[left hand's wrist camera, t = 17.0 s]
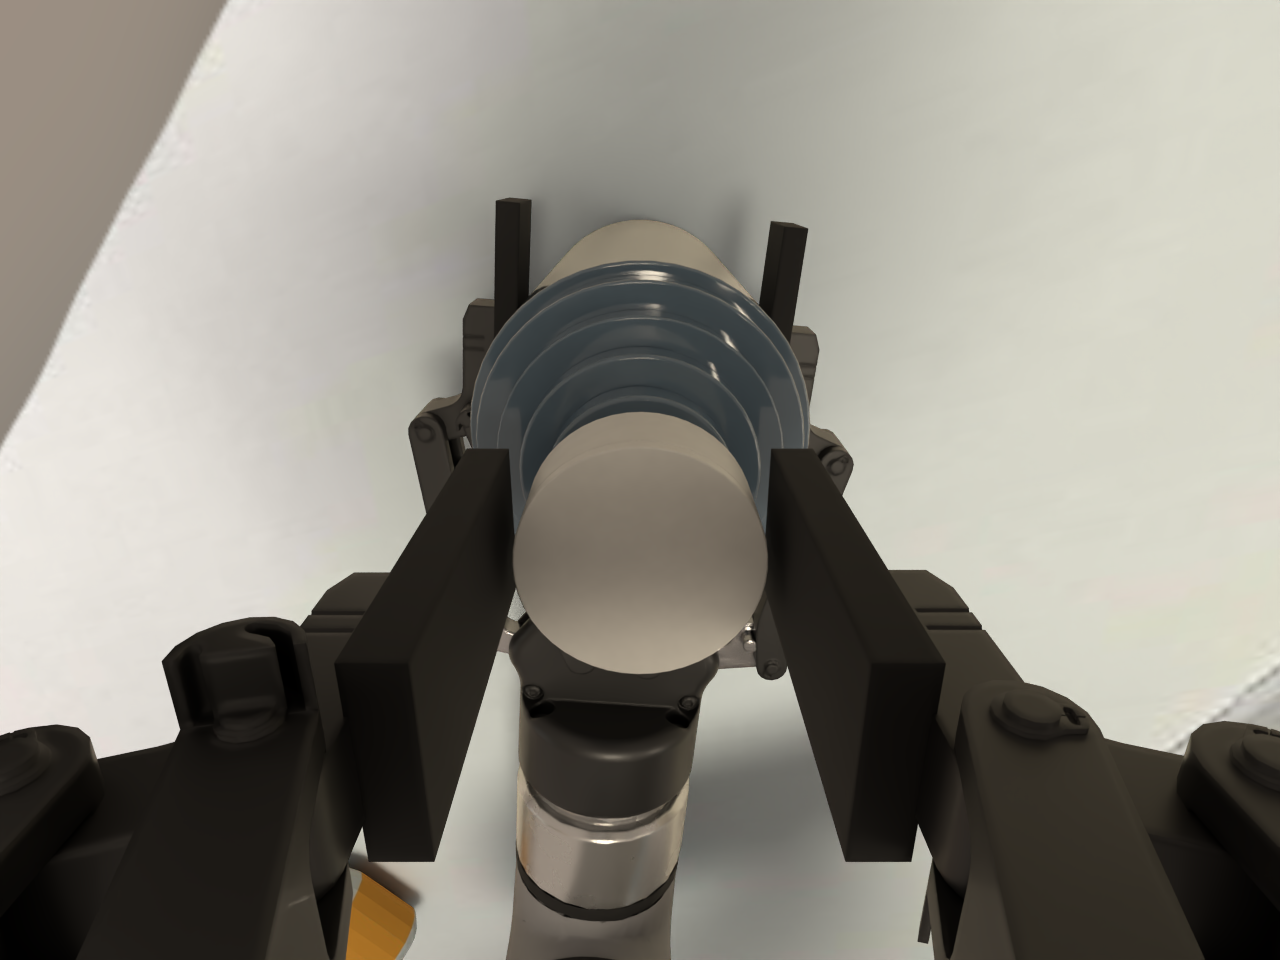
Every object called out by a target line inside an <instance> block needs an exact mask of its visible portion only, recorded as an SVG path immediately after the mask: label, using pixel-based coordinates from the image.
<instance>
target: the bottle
mask: <svg viewBox="0 0 1280 960" xmlns="http://www.w3.org/2000/svg"><path fill="white" fill-rule="evenodd" d="M628 412H650V413H660V414H665V415H669V416H674V417H677V418H680V419H682V420H685V421H688V422H690V423H692V424H694V425H696V426H698V427H700V428H702V429H703V430H705V431H706V432H708V433H709V434H711V435H712V436H714V437H715V438H716V439H717V440H718V441H719V442H720V443H722V444H723V445H724V446H725V447H726V448H727V450H728V451H729V452H730V453H731V454H732V455H733V457H734V458H735V459H736V461H737V463H738V464H739V466H740V467H741V469H742V471H743V473H744V475H745V478H746V480H747V482H748V485H749V488H750V491H751V494H752V496H753V499H754V502H755V505H756V508H757V511H758V514H759V517H760V520H761V523H762V526H763V529H764V533H765V532H766V517H767V502H768V487H769V472H770V457H771V449H808V444H809V432H810V412H809V400H808V395H807V390H806V385H805V381H804V378H803V375H802V372H801V369H800V366H799V363H798V361H797V359H796V357H795V355H794V353H793V351H792V349H791V347H790V345H789V343H788V341H787V340H786V338H785V337H784V335H783V334H782V333H781V331H780V330H779V328H778V327H777V325H776V324H775V323H774V322H773V320H772V319H771V318H770V317H769V316H768V315H767V314H766V312H765V311H764V310H763V309H762V308H761V307H760V306H759V304H758V303H757V302H756V301H755V300H754V299H753V298H752V297H751V295H750V294H749V293H748V292H747V291H746V290H745V289H744V287H743V286H742V285H741V284H740V283H739V282H738V281H737V279H736V278H735V277H734V276H733V275H732V274H731V273H730V271H729V270H728V269H727V268H726V267H725V266H724V265H723V264H722V262H721V261H720V260H719V259H718V258H717V257H716V256H715V254H714V253H713V252H712V251H711V250H710V249H709V248H708V247H707V246H706V245H705V244H704V243H702V242H701V241H700V240H699V239H697V238H696V237H695V236H693V235H691V234H690V233H688V232H687V231H685V230H683V229H680V228H678V227H676V226H673V225H670V224H667V223H663V222H659V221H652V220H628V221H621V222H617V223H613V224H610V225H607V226H604V227H602V228H600V229H598V230H595V231H594V232H592V233H590V234H589V235H587V236H586V237H584V238H583V239H581V240H580V241H579V242H578V243H577V244H575V245H574V246H573V247H572V248H571V249H570V250H569V251H568V253H567V254H566V255H565V256H564V257H563V258H562V259H561V260H560V262H559V263H558V264H557V265H556V266H555V267H554V268H553V269H552V271H551V272H550V273H549V274H548V275H547V276H546V277H545V279H544V280H543V281H542V282H541V283H540V284H539V285H538V287H537V288H536V289H535V290H534V291H533V292H532V293H531V295H530V296H529V297H528V298H527V299H526V300H525V301H524V303H523V304H522V305H521V306H520V307H519V308H518V309H517V311H516V312H515V313H514V314H513V315H512V316H511V317H510V319H509V320H508V321H507V322H506V323H505V325H504V326H503V327H502V329H501V330H500V332H499V333H498V335H497V336H496V337H495V339H494V340H493V342H492V344H491V346H490V348H489V350H488V352H487V354H486V356H485V358H484V360H483V361H482V364H481V367H480V370H479V373H478V376H477V379H476V382H475V387H474V392H473V397H472V402H471V419H470V428H471V440H472V448H473V449H509V458H510V473H511V488H512V503H513V517H514V532H515V534H516V531H517V528H518V525H519V522H520V519H521V516H522V513H523V510H524V507H525V504H526V502H527V499H528V496H529V493H530V490H531V487H532V484H533V481H534V478H535V476H536V474H537V472H538V470H539V468H540V466H541V465H542V463H543V462H544V460H545V459H546V457H547V456H548V455H549V453H550V452H551V451H552V450H553V449H554V448H555V447H556V446H557V445H558V444H559V443H560V442H561V441H562V440H563V439H565V438H566V437H567V436H568V435H570V434H571V433H573V432H574V431H576V430H577V429H579V428H581V427H582V426H584V425H586V424H589V423H591V422H593V421H595V420H598V419H601V418H604V417H607V416H611V415H616V414H621V413H628Z"/></svg>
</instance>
